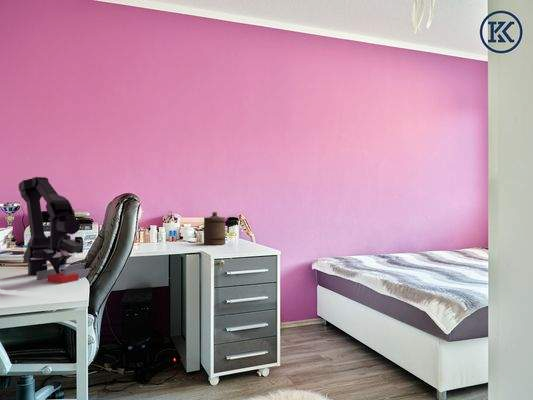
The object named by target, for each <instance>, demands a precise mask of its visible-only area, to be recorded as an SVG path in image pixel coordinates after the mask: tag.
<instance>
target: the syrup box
mask: <svg viewBox="0 0 533 400" xmlns="http://www.w3.org/2000/svg"><path fill="white" fill-rule="evenodd" d="M75 234H76V233H74V234H67V235H70V237H71V240H75V241H76V238H75V237H76V235H75ZM69 255H72V256H71V257H69V258H68V259H67V260H66V262H65V264H70V263H75V262H76V253H73V254H70V253H69Z"/></svg>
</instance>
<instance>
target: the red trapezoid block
mask: <svg viewBox="0 0 533 400" xmlns="http://www.w3.org/2000/svg"><path fill="white" fill-rule="evenodd" d="M66 266H67V265H66V264H65V265H61V266H60V267H59V272H60V273H57V274H51V275H47V278H46V281H47V282H48V283H53V284H67V283H73V282H78V281H79V279H78V274H75V273H74V274H69V275H65V276H64V275H62V273H67V272H66Z"/></svg>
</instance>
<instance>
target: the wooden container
mask: <svg viewBox="0 0 533 400" xmlns="http://www.w3.org/2000/svg"><path fill="white" fill-rule="evenodd" d="M207 244H208V246H209V245H212V246H214V245H216V246H218V245H225V244H226V217H225V216H224V217H223V216H218V212H216V211H213V212H212V215H211V216H208V217H204V218H203V245H207Z"/></svg>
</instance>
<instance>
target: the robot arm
mask: <svg viewBox="0 0 533 400" xmlns="http://www.w3.org/2000/svg"><path fill="white" fill-rule="evenodd" d="M49 181H50V180H49V178H48V177H46V176H35V177H31V178H29V179H23V180H22V181H20V182H19V183H18V191H19V192H20V197H21V199H23V200H24V201H25V203H26V209H27V216H28V226H29V233H30V238H29V240H28V242H27V244H26V247H27V248H26V250H25V251H24V254H23V257H22V258H23V262H25V263H28V264H27V268H28V269H27V271H28V272H27V274H28V275H29V276H37V272H38V271H44V270H48V264H47V263H48V262H49V263H50V264H51V266H52V269H54V270H55V272H56V274H57V273H60V272H59V267H60V266H61V265H65V266H66V263H65V262H66V260H67V259H68V258H69V257H71V256H72V255H69V253H70V254H73V253H75V254H81V253H82V254H83V252H84V240H83V239H81V238H77V239H75V240H71V237H70V235H67V234H74V233H75V234H76V233H78V232H79V231H80V229H81V224H80V221H79V220H78V219H77V218H75V217H76V214H75V213H76V212H75V210H74V209H73V206H72V203H70V201H69V199H67V198H66V197H65V196H63V195H59V194H58V192H57V191H56V189H55V188H54V187H53V185H51V183H50V182H49ZM42 198H43V199H44V201H45V203H46V204H45V210H46V211H47V213H48V214H49V216H50V217H48V221H50V222H49V223H50V225H49V228H50V229H49V235H45V229H44V228H45V227H44V221H43V214H42V213H43V212H42V205H41V199H42ZM47 261H48V262H47Z"/></svg>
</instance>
